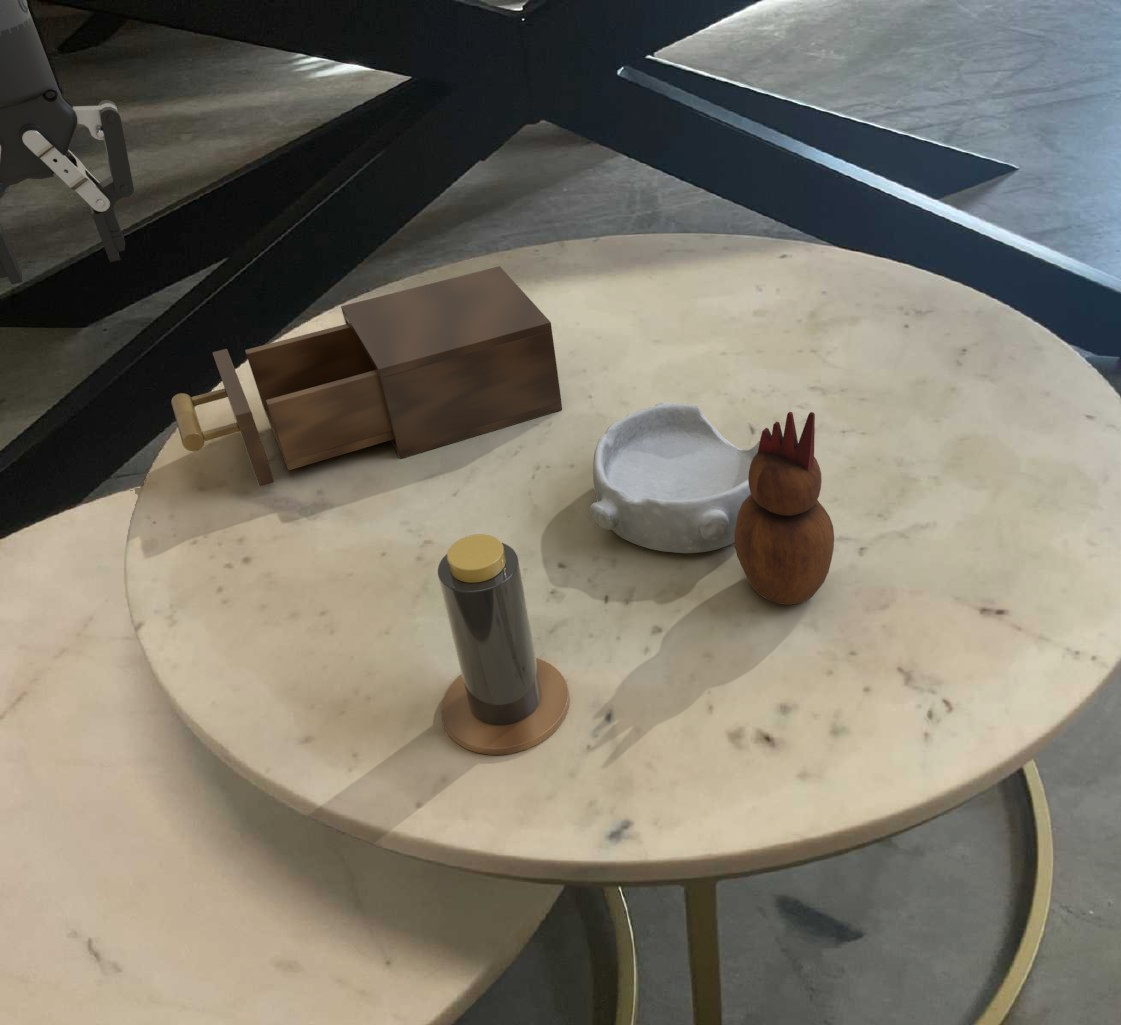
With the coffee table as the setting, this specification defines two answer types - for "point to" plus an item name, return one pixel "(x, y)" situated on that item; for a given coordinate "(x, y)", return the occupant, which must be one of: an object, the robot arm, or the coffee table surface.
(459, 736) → the coaster
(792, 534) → the wooden figurine
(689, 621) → the coffee table surface
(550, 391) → the cabinet
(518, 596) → the cylinder
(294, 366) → the drawer
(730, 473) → the dish
